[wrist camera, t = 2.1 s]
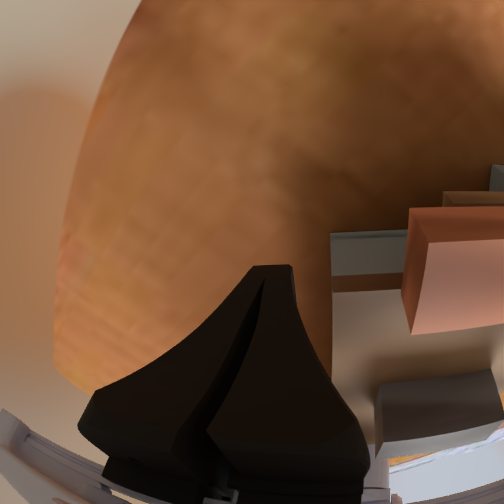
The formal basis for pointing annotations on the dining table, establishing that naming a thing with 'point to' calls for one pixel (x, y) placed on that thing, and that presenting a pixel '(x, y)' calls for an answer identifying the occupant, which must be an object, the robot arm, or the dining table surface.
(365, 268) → the blue grey tray
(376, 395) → the lid
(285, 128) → the dining table surface
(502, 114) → the dining table surface
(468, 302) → the salmon pink block
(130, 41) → the dining table surface
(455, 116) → the dining table surface
